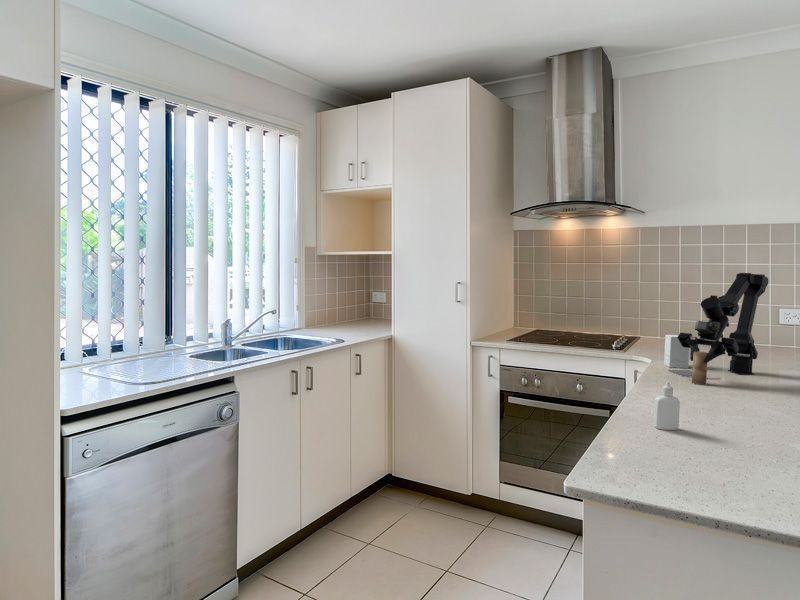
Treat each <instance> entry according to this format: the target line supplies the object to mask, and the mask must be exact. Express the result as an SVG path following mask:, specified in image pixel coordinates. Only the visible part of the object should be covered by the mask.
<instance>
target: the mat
mask: <svg viewBox="0 0 800 600" xmlns="http://www.w3.org/2000/svg"><path fill="white" fill-rule="evenodd" d="M670 371H671V372H670ZM668 372H670V373H672V372H673V373H672V374H675V373H676V374H675V375H677V374H678V375H677V376H680V375H681V376H680V377H682V376H692V370H689V369H681V370H680V369H668Z"/></svg>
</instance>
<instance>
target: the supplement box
mask: <svg viewBox="0 0 800 600" xmlns="http://www.w3.org/2000/svg"><path fill="white" fill-rule="evenodd" d="M678 335H679V334H665V338H664V340H665V341H664V356H663V357H664V358H663V364H664V365H665V366H667V367H668V368H674V367H676V368H677V369H689V364H690V363H689V359H690V348H686V347H683V346H682V345H681V343H680V341H679V339H678ZM676 368H675V369H676Z"/></svg>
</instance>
